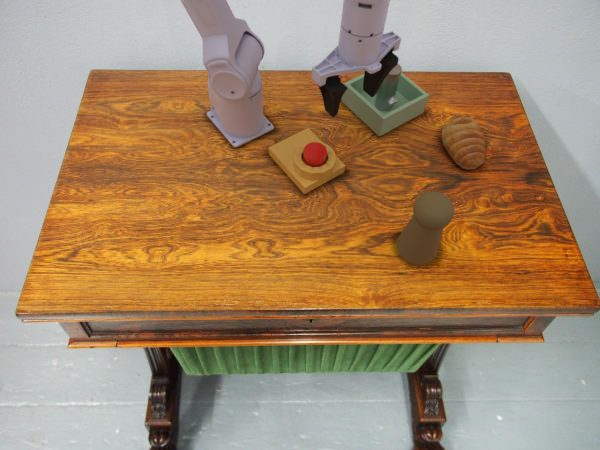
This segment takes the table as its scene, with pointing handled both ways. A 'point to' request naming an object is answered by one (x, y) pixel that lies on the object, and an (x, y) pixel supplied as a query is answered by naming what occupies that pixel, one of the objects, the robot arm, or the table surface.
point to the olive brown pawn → (425, 228)
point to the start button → (314, 154)
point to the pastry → (464, 142)
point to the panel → (294, 166)
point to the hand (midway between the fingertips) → (350, 102)
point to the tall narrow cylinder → (388, 90)
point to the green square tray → (384, 121)
